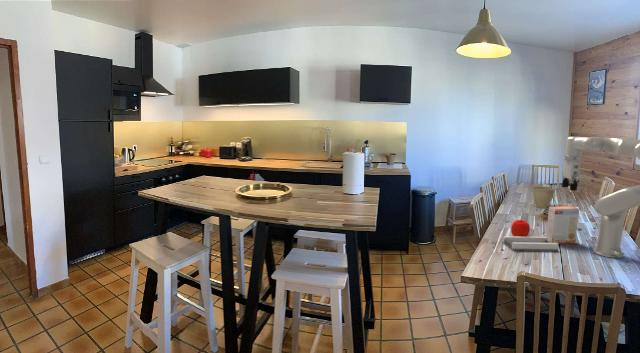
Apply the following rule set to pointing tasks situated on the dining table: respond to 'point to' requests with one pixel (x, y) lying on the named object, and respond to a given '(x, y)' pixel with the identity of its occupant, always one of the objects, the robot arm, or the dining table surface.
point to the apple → (520, 228)
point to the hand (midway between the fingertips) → (568, 188)
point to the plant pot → (543, 196)
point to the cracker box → (562, 225)
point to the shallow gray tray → (529, 243)
